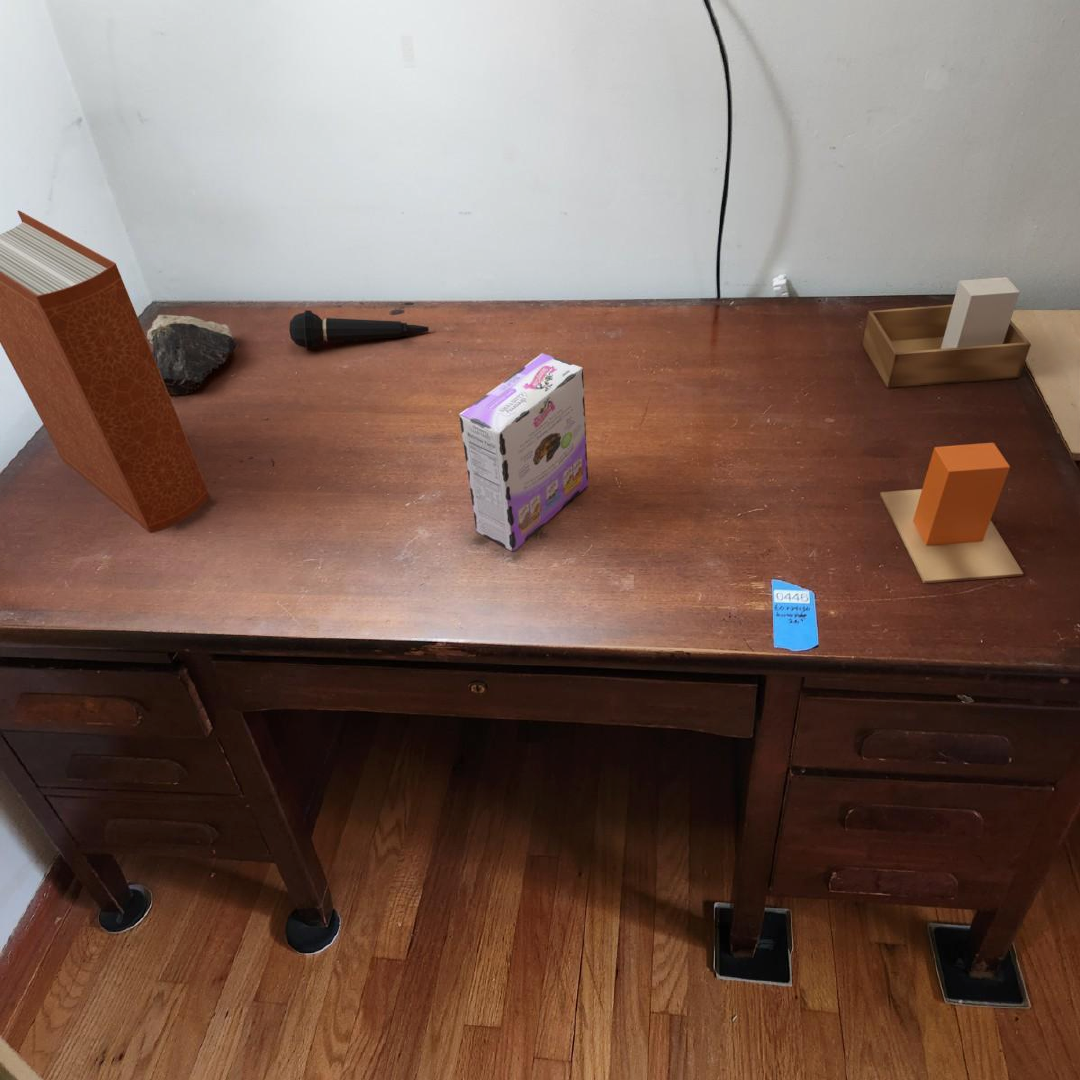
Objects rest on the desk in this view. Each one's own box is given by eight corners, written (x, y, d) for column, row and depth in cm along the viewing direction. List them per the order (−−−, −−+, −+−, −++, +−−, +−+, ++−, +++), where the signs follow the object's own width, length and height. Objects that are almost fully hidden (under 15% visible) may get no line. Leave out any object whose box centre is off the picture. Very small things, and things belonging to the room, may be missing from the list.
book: (63, 460, 117) (-56, 237, 96) (121, 430, 121) (18, 210, 101) (154, 536, 105) (41, 300, 84) (215, 500, 109) (121, 266, 89)
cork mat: (968, 488, 102) (969, 485, 102) (1022, 576, 92) (1023, 573, 92) (879, 494, 102) (880, 492, 102) (923, 583, 92) (924, 580, 92)
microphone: (428, 344, 138) (292, 346, 135) (427, 305, 136) (289, 307, 133) (429, 352, 133) (289, 354, 130) (428, 312, 131) (285, 313, 128)
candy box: (550, 469, 109) (542, 349, 98) (590, 487, 107) (586, 366, 95) (474, 532, 102) (455, 411, 91) (513, 553, 99) (500, 431, 88)
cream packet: (985, 345, 122) (1006, 276, 116) (997, 361, 120) (1020, 291, 113) (940, 349, 123) (959, 280, 116) (951, 365, 120) (971, 295, 113)
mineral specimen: (219, 297, 134) (239, 335, 123) (233, 343, 139) (253, 384, 128) (130, 317, 130) (142, 359, 119) (146, 364, 135) (159, 408, 124)
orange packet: (968, 516, 98) (993, 442, 92) (983, 541, 95) (1010, 466, 89) (912, 520, 98) (934, 446, 92) (925, 546, 96) (949, 471, 89)
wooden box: (985, 334, 125) (995, 301, 122) (1019, 378, 117) (1031, 343, 114) (861, 343, 125) (868, 310, 122) (887, 388, 117) (895, 354, 114)
